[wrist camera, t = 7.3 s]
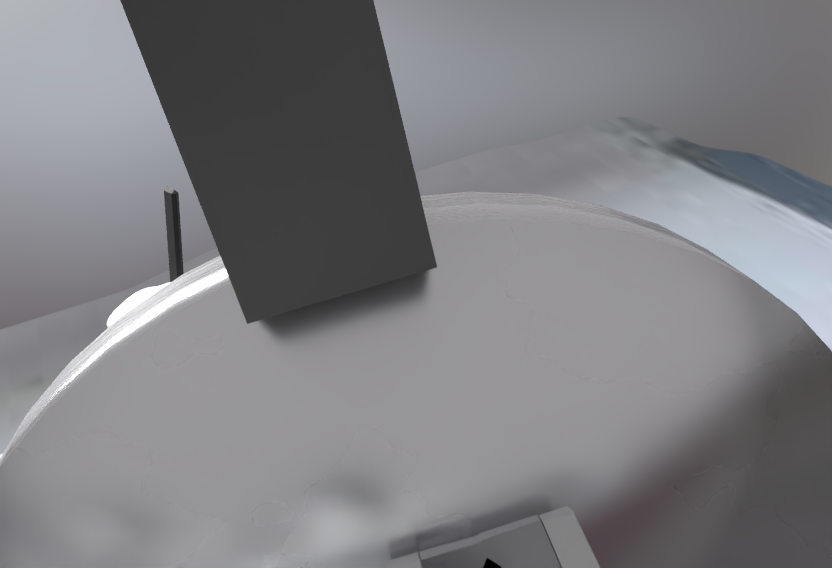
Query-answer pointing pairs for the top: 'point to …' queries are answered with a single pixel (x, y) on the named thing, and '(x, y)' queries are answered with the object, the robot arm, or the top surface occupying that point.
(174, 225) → the cocoa
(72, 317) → the top surface
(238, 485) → the cooker lid
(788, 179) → the top surface
